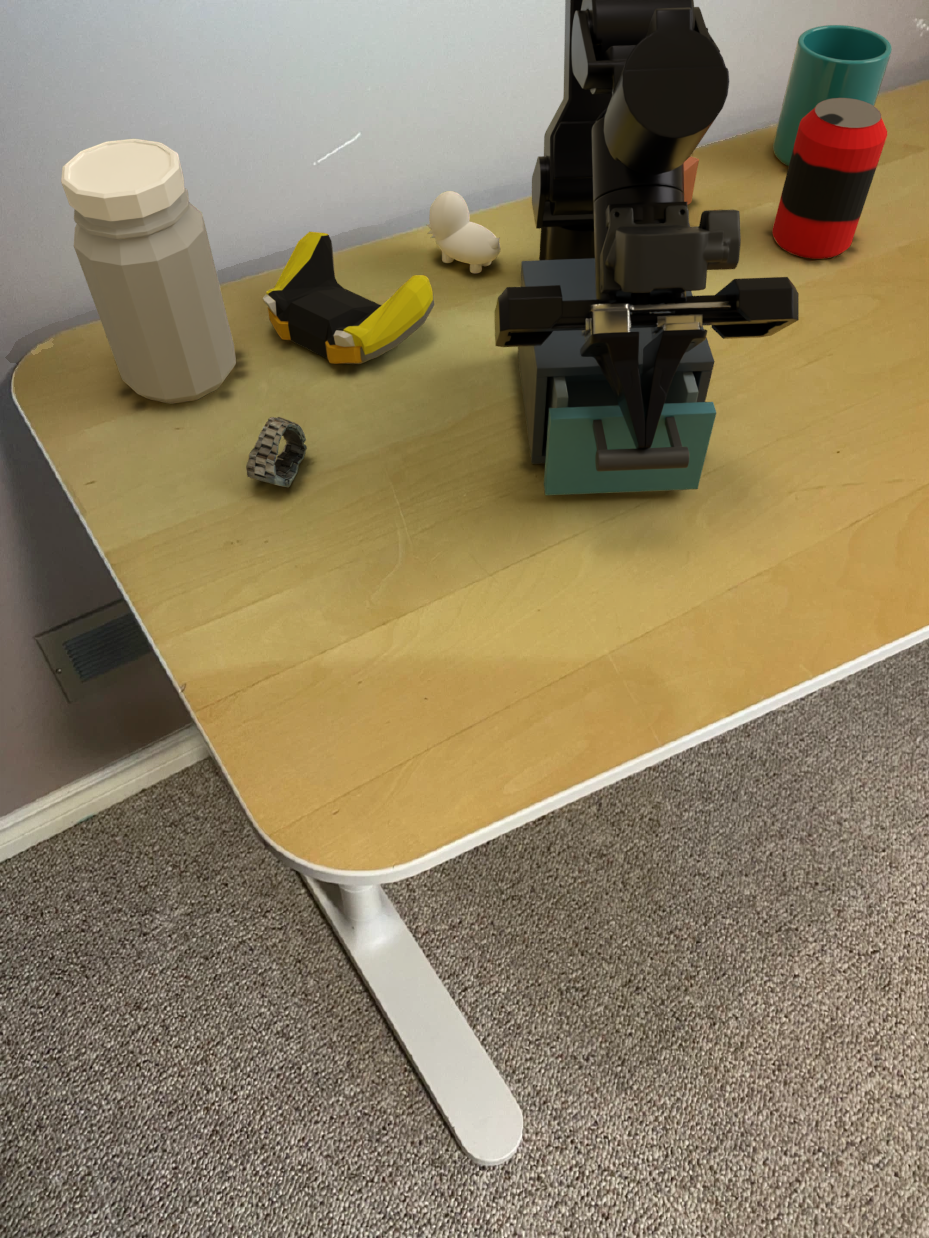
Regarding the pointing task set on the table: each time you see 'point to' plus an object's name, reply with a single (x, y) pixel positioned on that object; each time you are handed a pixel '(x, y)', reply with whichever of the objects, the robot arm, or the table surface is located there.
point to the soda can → (829, 177)
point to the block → (689, 178)
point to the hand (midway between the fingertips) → (643, 448)
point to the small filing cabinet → (578, 346)
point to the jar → (149, 269)
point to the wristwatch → (266, 450)
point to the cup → (829, 75)
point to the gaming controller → (341, 308)
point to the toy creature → (461, 233)
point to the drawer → (622, 439)
